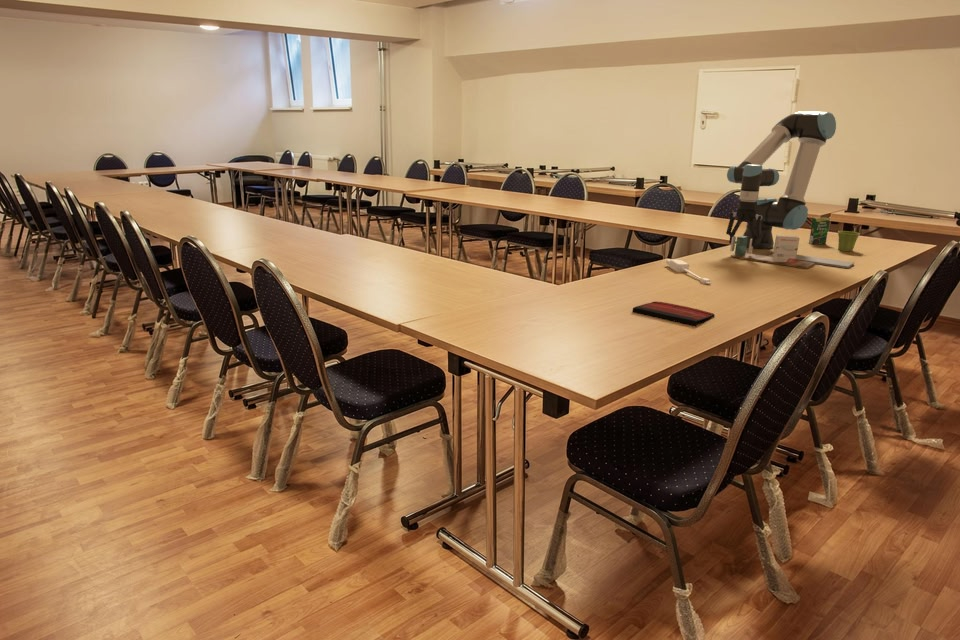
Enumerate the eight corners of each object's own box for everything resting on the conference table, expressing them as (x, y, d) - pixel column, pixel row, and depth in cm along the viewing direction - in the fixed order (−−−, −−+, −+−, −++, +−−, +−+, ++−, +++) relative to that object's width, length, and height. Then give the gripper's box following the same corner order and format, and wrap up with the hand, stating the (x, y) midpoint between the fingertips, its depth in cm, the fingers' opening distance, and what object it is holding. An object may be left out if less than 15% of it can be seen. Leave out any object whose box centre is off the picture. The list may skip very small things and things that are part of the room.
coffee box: (811, 244, 332) (816, 218, 328) (808, 243, 335) (812, 217, 331) (826, 244, 333) (830, 218, 329) (822, 243, 336) (826, 217, 332)
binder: (696, 320, 195) (632, 306, 208) (695, 328, 195) (631, 314, 208) (717, 312, 207) (655, 299, 220) (716, 319, 207) (654, 306, 220)
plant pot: (838, 247, 325) (842, 230, 322) (859, 250, 318) (862, 233, 315) (831, 250, 318) (834, 232, 316) (852, 253, 312) (855, 235, 309)
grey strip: (769, 256, 298) (772, 237, 295) (777, 253, 306) (780, 234, 303) (847, 268, 278) (851, 247, 276) (854, 264, 286) (857, 244, 284)
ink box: (792, 262, 287) (797, 235, 284) (795, 265, 283) (800, 237, 279) (771, 261, 289) (776, 234, 285) (773, 263, 284) (778, 236, 281)
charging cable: (702, 287, 246) (703, 279, 244) (664, 265, 276) (665, 257, 274) (714, 287, 246) (716, 278, 245) (676, 265, 276) (677, 257, 275)
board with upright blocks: (730, 257, 295) (733, 237, 292) (739, 253, 303) (742, 234, 301) (807, 268, 275) (810, 247, 273) (814, 264, 284) (818, 244, 281)
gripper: (722, 199, 294) (715, 249, 301) (769, 203, 281) (761, 256, 288) (728, 197, 299) (722, 247, 306) (774, 202, 287) (766, 254, 294)
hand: (741, 252), depth 297 cm, fingers open, 7 cm apart
